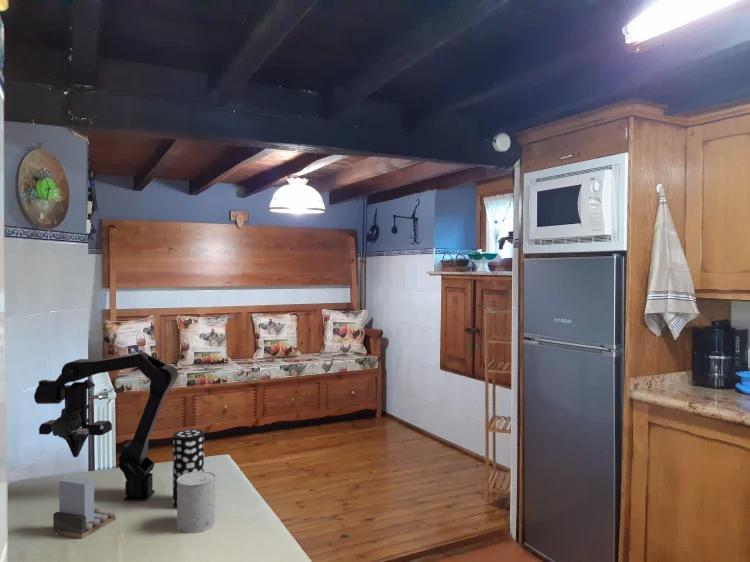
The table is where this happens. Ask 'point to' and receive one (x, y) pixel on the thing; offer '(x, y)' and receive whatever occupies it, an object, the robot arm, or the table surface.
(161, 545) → the table surface
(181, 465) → the spotted tube
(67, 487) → the slab
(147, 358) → the robot arm
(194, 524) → the speckled concrete cylinder
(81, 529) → the roller track
